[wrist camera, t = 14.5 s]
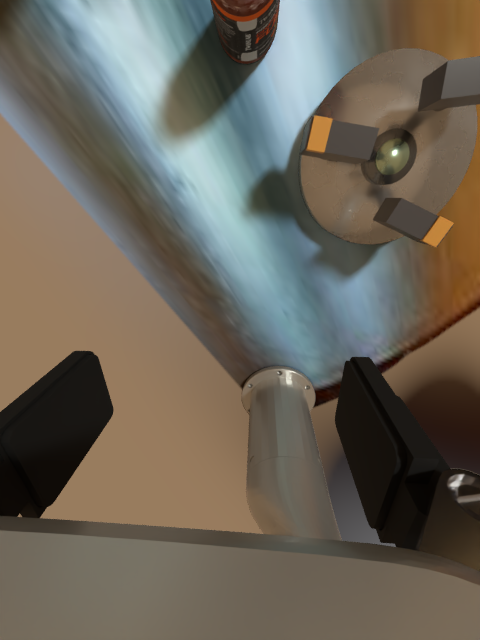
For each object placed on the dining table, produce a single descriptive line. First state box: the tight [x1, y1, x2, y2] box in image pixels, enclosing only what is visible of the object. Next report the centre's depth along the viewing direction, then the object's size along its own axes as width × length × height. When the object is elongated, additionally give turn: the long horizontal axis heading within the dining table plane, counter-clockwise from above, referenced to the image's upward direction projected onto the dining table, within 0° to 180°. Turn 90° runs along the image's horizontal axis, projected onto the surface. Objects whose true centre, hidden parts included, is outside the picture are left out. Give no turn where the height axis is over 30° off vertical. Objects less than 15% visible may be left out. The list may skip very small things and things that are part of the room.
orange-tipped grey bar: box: [299, 115, 379, 164], centre depth 25 cm, size 6×2×6 cm, turn 81°
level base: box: [299, 48, 477, 244], centre depth 28 cm, size 18×18×4 cm
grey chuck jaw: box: [373, 198, 454, 247], centre depth 28 cm, size 6×2×6 cm, turn 67°
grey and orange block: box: [418, 56, 480, 112], centre depth 23 cm, size 6×2×6 cm, turn 95°
